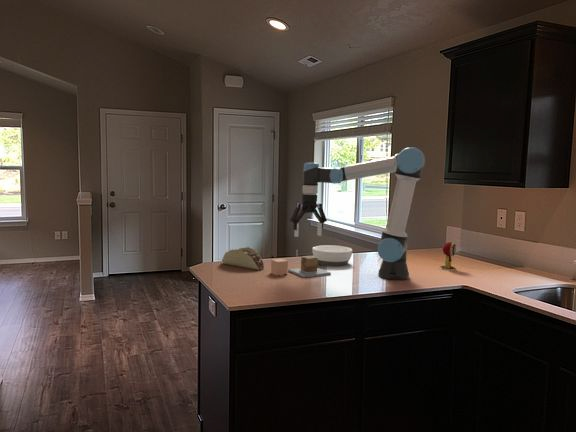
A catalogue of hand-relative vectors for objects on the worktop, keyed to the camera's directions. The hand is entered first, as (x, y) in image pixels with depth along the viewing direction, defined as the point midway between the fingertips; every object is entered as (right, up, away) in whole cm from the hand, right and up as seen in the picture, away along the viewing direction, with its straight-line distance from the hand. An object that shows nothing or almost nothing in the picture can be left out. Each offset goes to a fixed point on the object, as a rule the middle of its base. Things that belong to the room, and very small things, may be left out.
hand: (307, 236), depth 250 cm
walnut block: (+1, -18, +2) cm, 18 cm away
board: (+1, -19, +2) cm, 19 cm away
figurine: (+78, -19, +24) cm, 84 cm away
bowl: (+15, -17, +30) cm, 37 cm away
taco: (-34, -17, +13) cm, 41 cm away
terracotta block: (-14, -19, -1) cm, 24 cm away
